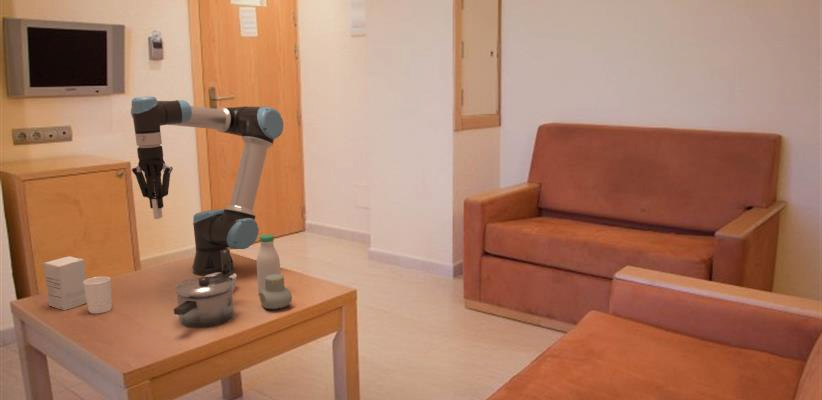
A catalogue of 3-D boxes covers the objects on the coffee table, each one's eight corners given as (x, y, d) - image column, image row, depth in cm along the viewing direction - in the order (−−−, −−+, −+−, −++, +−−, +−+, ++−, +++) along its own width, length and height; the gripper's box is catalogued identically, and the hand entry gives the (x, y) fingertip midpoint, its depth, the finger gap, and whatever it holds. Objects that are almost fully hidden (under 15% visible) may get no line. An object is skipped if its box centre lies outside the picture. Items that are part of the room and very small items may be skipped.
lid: (214, 299, 189) (212, 271, 188) (164, 296, 193) (161, 268, 192) (253, 275, 212) (251, 249, 210) (207, 272, 216) (205, 247, 214)
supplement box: (74, 298, 222) (69, 255, 219) (90, 302, 217) (85, 258, 214) (48, 306, 214) (42, 262, 211) (64, 311, 210) (58, 266, 207)
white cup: (103, 315, 205) (99, 284, 203) (81, 313, 207) (77, 283, 205) (119, 306, 213) (115, 276, 211) (97, 305, 214) (94, 275, 212)
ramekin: (236, 284, 233) (235, 270, 232) (239, 293, 223) (238, 278, 222) (203, 288, 230) (202, 273, 229) (205, 298, 219) (203, 283, 218)
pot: (206, 338, 185) (204, 308, 183) (155, 335, 188) (152, 305, 187) (252, 302, 213) (250, 276, 212) (207, 300, 217) (205, 274, 215)
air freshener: (294, 309, 207) (292, 278, 205) (268, 314, 203) (266, 283, 201) (283, 299, 217) (281, 270, 215) (258, 303, 213) (256, 274, 211)
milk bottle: (283, 294, 221) (280, 237, 217) (260, 297, 218) (256, 239, 215) (279, 287, 228) (275, 232, 224) (256, 290, 225) (253, 234, 222)
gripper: (123, 148, 205) (133, 220, 210) (162, 147, 203) (171, 220, 208) (136, 144, 212) (145, 215, 218) (174, 144, 211) (182, 215, 216)
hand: (158, 217), depth 213 cm, fingers closed
